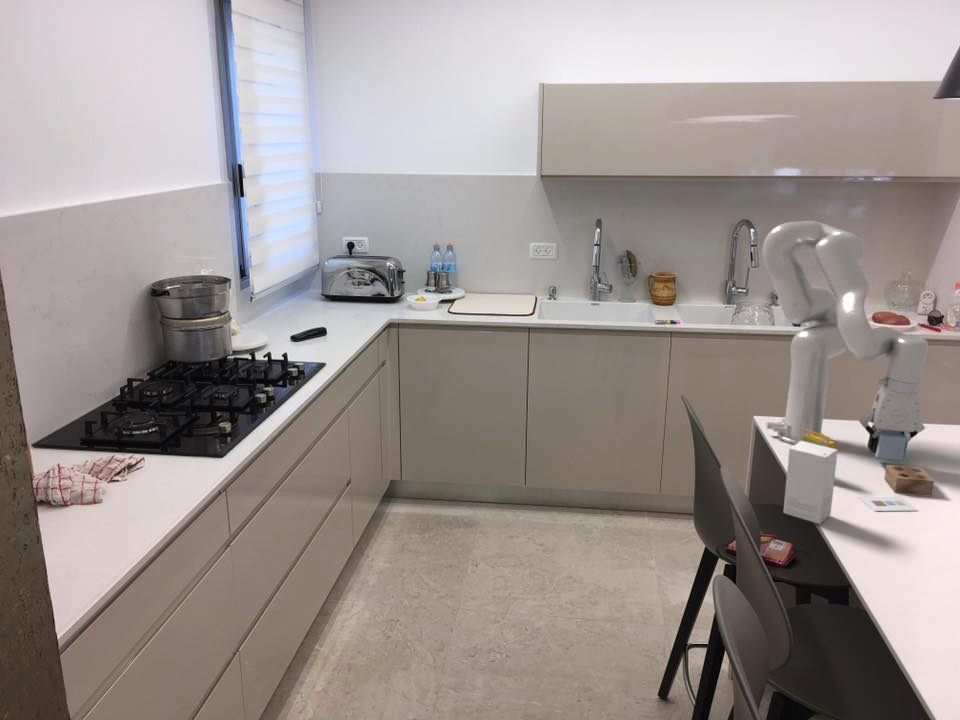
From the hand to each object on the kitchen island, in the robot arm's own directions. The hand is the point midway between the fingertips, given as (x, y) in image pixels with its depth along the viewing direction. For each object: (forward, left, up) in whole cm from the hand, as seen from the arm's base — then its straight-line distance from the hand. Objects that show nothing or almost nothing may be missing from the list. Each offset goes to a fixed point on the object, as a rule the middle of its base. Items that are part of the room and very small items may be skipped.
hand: (885, 451), depth 197 cm
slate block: (0, 0, -1) cm, 1 cm away
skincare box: (-28, -32, -4) cm, 43 cm away
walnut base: (+1, -14, -4) cm, 14 cm away
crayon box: (-20, -10, -4) cm, 23 cm away
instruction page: (-8, -24, -4) cm, 26 cm away
